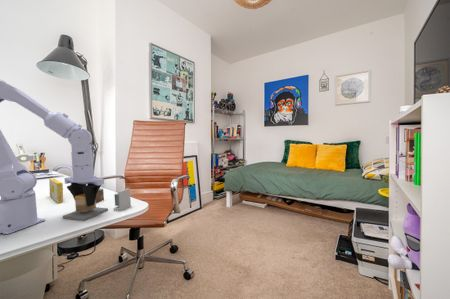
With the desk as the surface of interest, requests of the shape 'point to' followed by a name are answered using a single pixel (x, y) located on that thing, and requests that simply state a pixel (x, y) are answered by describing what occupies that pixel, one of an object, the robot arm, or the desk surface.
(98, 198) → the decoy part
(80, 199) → the tan small block
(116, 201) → the wall unit
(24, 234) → the desk surface
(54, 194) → the candy box
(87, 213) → the parts mat
